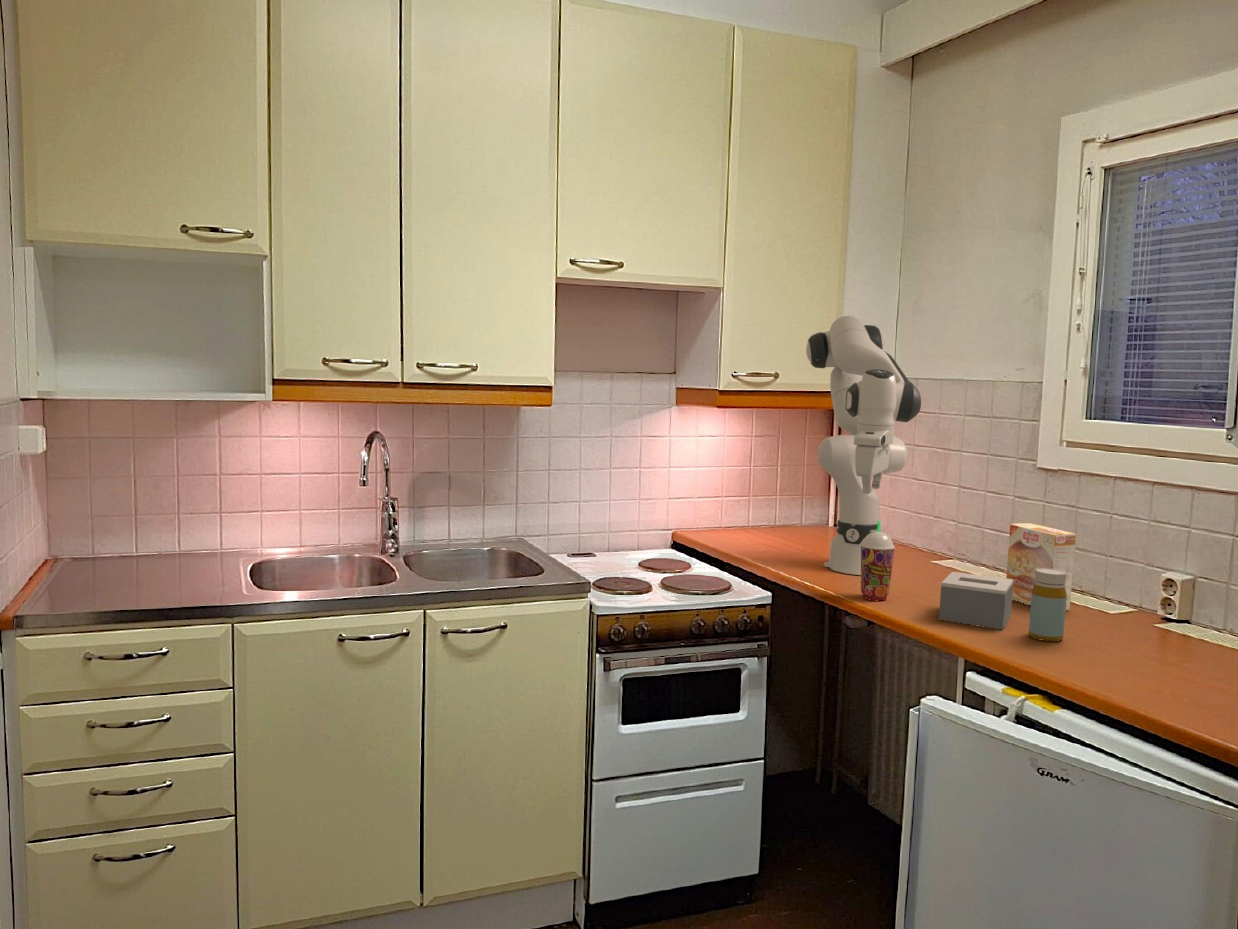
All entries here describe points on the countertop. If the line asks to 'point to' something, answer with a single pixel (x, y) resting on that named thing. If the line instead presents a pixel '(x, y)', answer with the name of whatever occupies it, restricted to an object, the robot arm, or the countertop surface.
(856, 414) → the robot arm
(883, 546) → the smoothie
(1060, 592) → the bottle
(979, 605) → the coin box
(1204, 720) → the countertop surface
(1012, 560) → the coffeecake box
